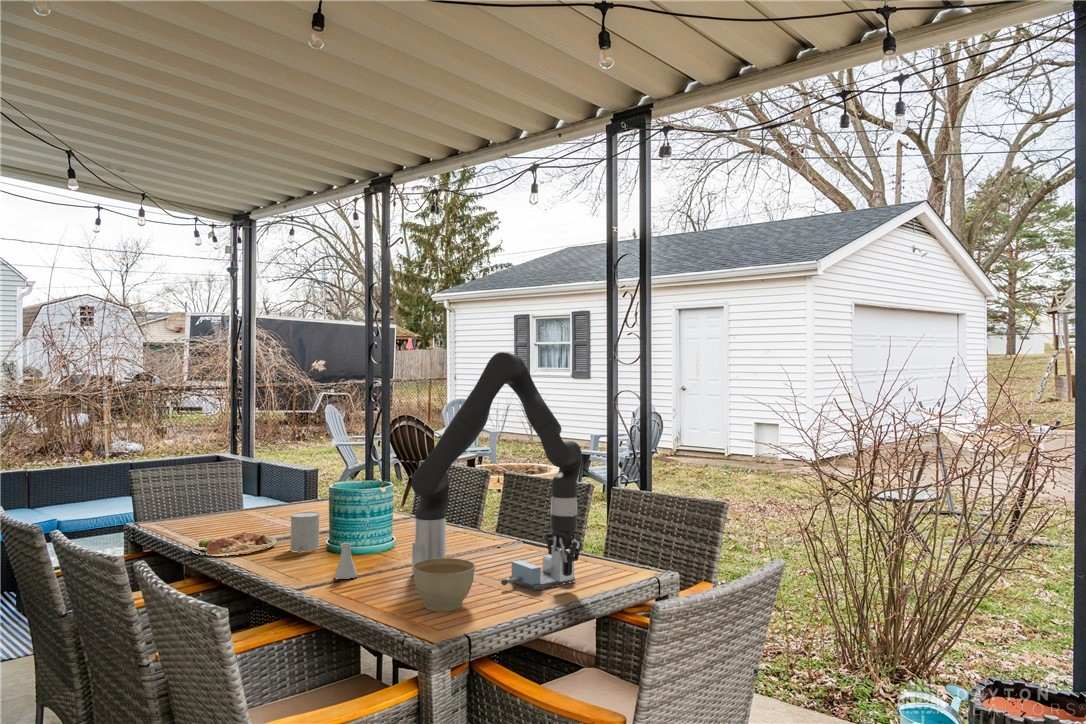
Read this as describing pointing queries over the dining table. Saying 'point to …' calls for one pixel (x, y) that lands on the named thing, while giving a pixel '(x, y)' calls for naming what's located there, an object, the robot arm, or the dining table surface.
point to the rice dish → (236, 543)
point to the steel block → (559, 566)
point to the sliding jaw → (524, 573)
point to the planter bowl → (443, 582)
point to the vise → (543, 577)
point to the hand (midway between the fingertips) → (562, 573)
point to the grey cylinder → (304, 531)
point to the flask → (345, 564)
